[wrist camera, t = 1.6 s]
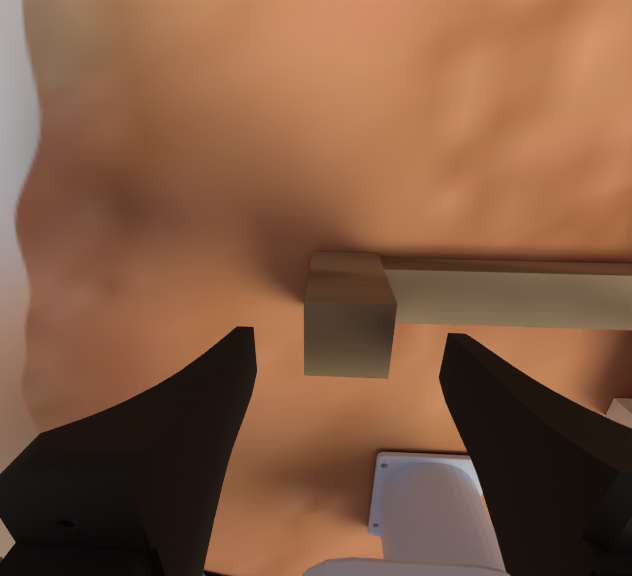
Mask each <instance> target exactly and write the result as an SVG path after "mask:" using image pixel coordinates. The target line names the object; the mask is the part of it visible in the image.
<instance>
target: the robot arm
mask: <svg viewBox="0 0 632 576" xmlns="http://www.w3.org/2000/svg"><path fill="white" fill-rule="evenodd" d="M256 373H257V364H256V352H255V340H254V328H253V327H239V326H237V327H236V328H235V329H233V330H232V331H231V332H230V333H229V334H227V335H226V336H225V337H224V338H223V339H221V340H220V341H219V342H218V343H217V344H215V345H214V346H213V347H212V348H210V349H209V350H208V351H207V352H205V353H204V354H203V355H201V356H200V357H199V358H197V359H196V360H195V361H193V362H192V363H190V364H189V365H188V366H186V367H185V368H184V369H182V370H181V371H179V372H178V373H176V374H174V375H173V376H171V377H170V378H168V379H166V380H165V381H163V382H161V383H159V384H158V385H156V386H154V387H152V388H150V389H148V390H146V391H145V392H143V393H141V394H139V395H137V396H135V397H133V398H131V399H129V400H127V401H125V402H122V403H120V404H118V405H116V406H113V407H111V408H109V409H106V410H104V411H102V412H99V413H97V414H94V415H92V416H89V417H86V418H84V419H81V420H78V421H75V422H72V423H70V424H67V425H64V426H61V427H58V428H55V429H52V430H49V431H46V432H43V433H40V434H39V435H38V436H37V437H36V438H35V439H34V441H32V442H31V443H30V444H29V446H27V447H26V448H25V449H24V450H23V452H22V453H20V455H19V456H18V457H17V458H16V459H15V460H14V461H13V462H12V463H11V464H10V465H9V466H8V467H7V468H6V469H5V470H4V471H3V472H2V473H1V474H0V518H1V520H2V521H3V523H4V524H5V526H6V528H7V529H8V531H9V532H10V534H11V535H12V537H13V539H14V540H15V542H16V543H15V544H14V546H13V547H12V548H11V549H10V551H9V552H8V553H7V555H6V556H5V557H4V559H3V558H2V557H0V576H202V575H203V570H204V565H205V560H206V555H207V550H208V546H209V541H210V537H211V532H212V528H213V523H214V518H215V514H216V510H217V506H218V502H219V497H220V493H221V489H222V485H223V481H224V477H225V473H226V469H227V465H228V461H229V458H230V455H231V452H232V448H233V446H234V443H235V440H236V437H237V435H238V432H239V429H240V426H241V424H242V421H243V418H244V415H245V413H246V410H247V407H248V404H249V401H250V399H251V396H252V392H253V388H254V383H255V378H256ZM439 380H440V384H441V388H442V391H443V395H444V398H445V401H446V404H447V406H448V409H449V411H450V413H451V416H452V418H453V420H454V423H455V425H456V427H457V429H458V432H459V434H460V436H461V438H462V440H463V443H464V445H465V447H466V449H467V452H468V454H469V456H466V455H445V454H423V453H402V452H380V453H379V454H378V455H377V460H376V468H375V476H374V484H373V492H372V500H371V508H370V516H369V524H368V532H369V534H370V535H371V536H380V537H381V540H382V548H383V557H384V559H373V558H356V557H350V558H339V559H329V560H325V561H323V562H321V563H319V564H317V565H315V566H313V567H311V568H309V569H308V570H307V571H306V572H305V573H303V575H302V576H632V428H629V427H627V426H625V425H622V424H620V423H618V422H615V421H613V420H611V419H609V418H606V417H604V416H602V415H600V414H598V413H596V412H593V411H591V410H589V409H587V408H585V407H583V406H581V405H579V404H577V403H575V402H573V401H571V400H569V399H567V398H566V397H564V396H562V395H560V394H558V393H556V392H554V391H553V390H551V389H549V388H547V387H546V386H544V385H542V384H541V383H539V382H537V381H536V380H534V379H532V378H531V377H529V376H528V375H526V374H524V373H523V372H521V371H520V370H518V369H517V368H515V367H514V366H512V365H511V364H509V363H508V362H506V361H505V360H503V359H502V358H500V357H499V356H498V355H496V354H495V353H493V352H492V351H490V350H489V349H488V348H486V347H485V346H483V345H482V344H480V343H479V342H477V341H476V340H474V339H473V338H471V337H470V336H468V335H466V334H459V333H448V336H447V341H446V346H445V350H444V355H443V360H442V365H441V370H440V374H439ZM482 493H483V495H484V498H485V501H486V504H487V508H488V511H489V514H490V518H491V521H492V523H491V521H490V518H489V516H488V513H487V511H486V509H485V506H484V504H483V501H482V499H481V496H482ZM492 524H493V526H492ZM493 527H494V528H493Z"/></svg>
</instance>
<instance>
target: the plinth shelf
mask: <svg viewBox="0 0 632 576" xmlns="http://www.w3.org/2000/svg"><path fill="white" fill-rule="evenodd" d="M605 416H606V417H607V418H609V419H611V420H613V421H615V422H618V423H620V424H622V425H625V426H627V427H629V428H632V399H629V398H614V399H613V401H612V403H611V405H610V407H609V409H608V411H607V413H606V415H605Z"/></svg>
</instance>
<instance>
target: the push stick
mask: <svg viewBox="0 0 632 576" xmlns="http://www.w3.org/2000/svg"><path fill="white" fill-rule="evenodd" d="M395 323H418V324H449V325H480V326H512V327H543V328H574V329H605V330H632V264H630V263H589V262H548V261H508V260H467V259H426V258H386V257H379V255H378V253H361V252H320V251H313V252H312V258H311V264H310V269H309V275H308V281H307V286H306V292H305V298H304V375H307V376H333V377H359V378H385V379H388V374H389V367H390V359H391V351H392V343H393V335H394V327H395Z"/></svg>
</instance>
